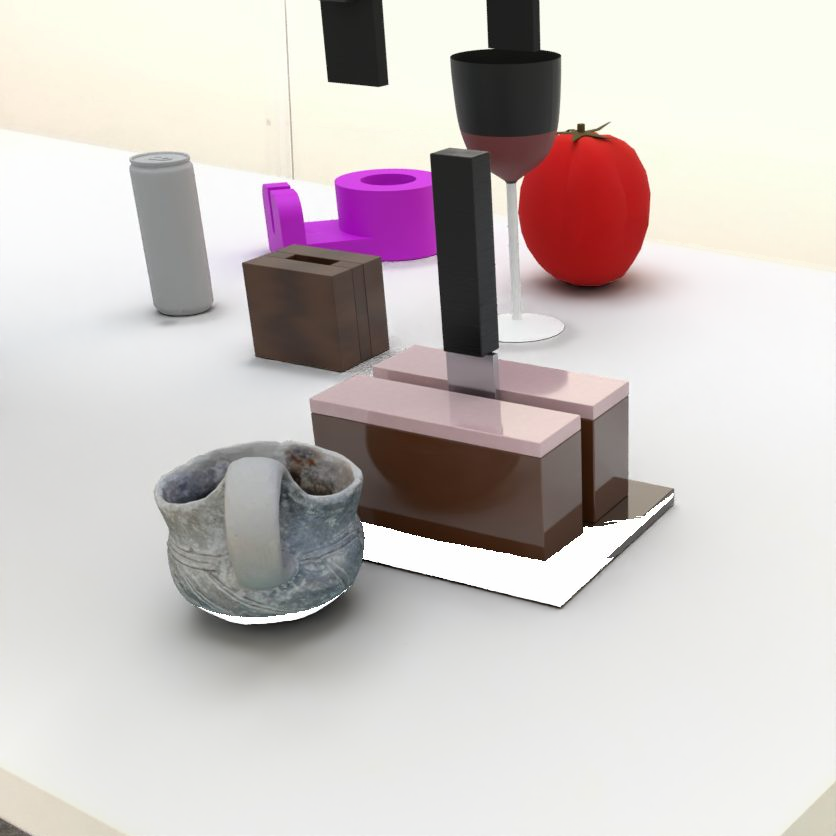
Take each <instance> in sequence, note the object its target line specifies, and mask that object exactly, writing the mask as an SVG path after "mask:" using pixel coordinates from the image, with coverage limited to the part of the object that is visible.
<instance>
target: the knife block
mask: <svg viewBox="0 0 836 836" xmlns="http://www.w3.org/2000/svg"><path fill="white" fill-rule="evenodd" d="M241 267H242V274H243V280H244V288H245V294H246V302H247V308H248V315H249V322H250V329H251V335H252V345H253V349H254V356H255V357H258V358H263V359H268V360H269V359H270V360H274V361H281V362H285V363H289V364H290V363H291V364H296V365H301V366H307V367H313V368H318V369H324V370H330V371H333V372H339V373H344V372H345V371H346V372H347V370H349V369H351V368H354V367H356V366H357V365H360V364H361V363H363V362H365V361H367V360H369V359H372V358H374V357H376V356H378V355H380V354H381V353H384V352H386V351H387V350H390V339H389V327H388V315H387V304H386V292H385V283H384V272H383V261H382V259H381V256H374V255H367V254H360V253H353V252H346V251H339V250H332V249H325V248H318V247H311V246H304V245H297V244H293V245H290V246H287V247H284V248H282V249H279V250H276V251H274V252H272V251H271V252H268V253H266V254H263V255H259V256H256V257H254V258H251V259H249V260H245V261H242V262H241Z"/></svg>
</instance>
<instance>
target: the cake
mask: <svg viewBox="0 0 836 836" xmlns="http://www.w3.org/2000/svg"><path fill="white" fill-rule="evenodd" d="M498 364H499V384H500V400H495V399H489V398H484V397H478V396H473V395H467V394H462V393H456V392H451V391H448V377H447V363H446V352H445V351H444V349H443V348H436V347H429V346H425V345H424V346H423V345H418V344H414V345H411V346H410V347H408V348H405V349H404V350H402V351H400V352H397V353H396V354H394V355H392V356H390V357H388V358H386V359H384V360H382V361H380V362H378V363H376V364H374V365H372V366H371V367H372V368H371V370H372V376H368V375H363V374H357V373H356V374H355V375H353V376H351V377H349V378H346V379H344V380H343V381H341V382H339V383H337V384H335V385H333V386H331V387H329V388H327V389H325V390H323V391H321V392H319V393H318V394H315V395H313V396H312V397H310V398H309V399H308V400H309V408H310V417H311V425H312V432H313V442H314V445H315V446H318V447H321V448H324V449H327V450H330V451H334V452H337V453H339V454H341V455H343V456H344V457H346V458H347V459H349V460H350V461H351V462H352V463H354V464H355V465H356V466H357V467H358V468H359V469H360V470H361V471H362V474H363V484H362V490H361V496H360V500H359V503H358V507H357V515H358V516H359V518H360V521H361V522H366V523H369V524H374V525H377V526H383V527H386V528H391V529H394V530H397V531H401V532H404V533H409V534H412V535H416V536H417V535H418V536H421V537H425V538H430V539H434V540H437V541H443V542H449V543H455V544H461V545H464V546H465V545H467V546H470V547H477V548H483V549H486V550H493V551H496V552H503V553H510V554H513V555H517V556H521V557H528V558H531V559H538V560H542V561H546V560H547V559H548V558H550V557H551V556H552V555H554V554H555V553H556V552H559V551H560V550H561V549H562V548H563V547H564V546H566V545H568V544H569V543H570V542H571V541H573V540H574V539H575V538H577V537H578V536H580V535H581V534H582V533H583V527H585V526H588V527H593V526H604V525H608V524H614V523H617V522H609V523H604V522H607V521H612V520H626V519H634V518H641V517H636V516H645V515H646V513H647V512H649V511H650V510H651V509H652V508H654V507H655V506H656V505H658V504H659V503H660V502H662V501H663V500H665V498H667V497H669V496H670V495H671V494H672V493H674V494H675V488H673V487H670V486H664V485H659V484H655V483H654V484H653V483H648V482H644V481H639V480H633V479H629V452H630V451H629V435H630V434H629V430H630V429H629V428H630V426H629V424H630V423H629V422H630V421H629V417H630V416H629V415H630V411H629V409H630V407H629V406H630V404H629V401H630V400H629V399H630V396H629V395H630V381H629V380H624V379H618V378H612V377H606V376H600V375H594V374H589V373H583V372H577V371H571V370H565V369H559V368H553V367H548V366H542V365H535V364H530V363H523V362H518V361H512V360H507V359H502V358H501V359H500V358H498ZM674 504H675V496H674V497H673V498H672V499H671V500H670V501H669V502H668V503H667V504H666V505H664V506H663V507H662V508H661V509H660V510H659V511H658V512H657V513H656V514H655V515H653V516H652V517H651V518H650V519H649V520H648V521H647V522H646V523H645V524H644V525H643V526H641V527H640V528H639V529H638V530H637V531H636V532H635V533H634V534H633V535H632V536H630V537H629V538H628V539H627V540H626V541H625V542H624V543H623V544H622V545H621V546H620V547H618V548H617V549H616V550H615V551H614V552H613V553H612V554H611V555H610V556H609V557H607V558H612V557H616V556H617V555H618V556H619V555H620V554H621V553H622V552H623V551H625V550H626V549H627V548H628V547H629V546H630V545H631V544H632V543H633V542H634V541H635V540H637V539H638V538H639V537H640V536H641V535H642V534H643V533H644V532H645V531H646V530H647V529H648V528H649V527H650V526H652V525H653V523H655V522H656V521H657V520H658V519H659V518H661V516H662V515H664V514H665V512H666V511H668V510H669V509H670V508H671V507H672V506H673V505H674ZM618 556H617V557H618ZM617 557H616V558H617Z"/></svg>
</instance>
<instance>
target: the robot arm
mask: <svg viewBox="0 0 836 836" xmlns="http://www.w3.org/2000/svg"><path fill="white" fill-rule="evenodd" d="M540 2H541V1H540V0H486V1H485V3H486V28H487V30H486V31H487V49H504V50H516V51H528V52H535V51H540V50H541V10H540V9H541V8H540V7H541V6H540ZM319 4H320V5H319V6H320V15H321V16H320V17H321V25H322V34H323V46H324V47H323V48H324V53H325V54H324V55H325V56H324V57H325V65H326V66H325V67H326V76H327V77H326V78H327V83H333V84H344V85H354V86H364V87H372V88H381V87H386V86H389V85H390V83H389V73H388V72H389V71H388V61H387V60H388V59H387V57H388V56H387V45H386V32H385V31H386V30H385V18H384V17H385V16H384V5H383V0H319Z"/></svg>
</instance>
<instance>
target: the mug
mask: <svg viewBox="0 0 836 836" xmlns="http://www.w3.org/2000/svg"><path fill="white" fill-rule="evenodd" d="M362 484H363V474H362V471H361V470H360V469H359V468H358V467H357V466H356V465H355V464H354V463H352V462H351V461H350V460H349V459H347V458H346V457H344V456H343V455H341V454H339V453H337V452H334V451H330V450H327V449H324V448H321V447H318V446H315V444H311V443H307V442H300V441H294V440H288V439H287V440H284V441H282V442H280V441H277V440H255V441H249V442H243V443H237V444H233V445H230V446H229V445H228V446H224V447H219V448H215V449H213V450H209V451H208V452H205V453H204V454H199V455H197V456H194V457H192V458H190V459H189V460H187V461H186V462H185V463H183V464H181V465H179V466H176V467H175V468H173V469H172V470H170V471H169V472H167V473H165V474H163V475H161V476H160V478H159V479H158V481H157V482H156V483H155V485H154V488H153V497H154V501H155V504H156V507H157V509H158V510H159V512H160V514H161V516H162V518H163V520H164V523H165V524H166V526H167V528H168V537H167V541H166V547H167V549H166V554H167V562H168V566H169V572H170V575H171V578H172V581H173V583H174V585H175V587H176V589H177V590H178V592H179V593H180V595H181V596H182V597H183V599H185V600H186V601H187V602H188V603H190V604H191V605H192V604H193V605H192V606H194V605H195V606H194V607H196V606H198V607H202V608H204V609H206V610H209V611H212V612H216V613H219V614H220V613H221V614H226V615H229V616H230V615H231V616H240V617H241V616H242V617H268V616H276V615H285V614H287V613H297V612H299V611H305V610H309V609H311V608H314V607H318V606H320V605H322V604H325V603H326V602H328V601H330V600H332V599H333V598H335V597H336V596H338V595H340V594H341V593H342V592H343V591H344V590H346V589H347V588H348V587H349V586H351V585H352V586H353V585H354V583H355V581H356V579H357V576H358V574H359V571H360V568H361V565H362V563H363V560H362V558H363V550H364V539H365V537H364V532H363V526H362V523H361V522H360V518H359V516H358V515H357V507H358V503H359V500H360V496H361V490H362ZM352 586H351V587H352Z"/></svg>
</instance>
